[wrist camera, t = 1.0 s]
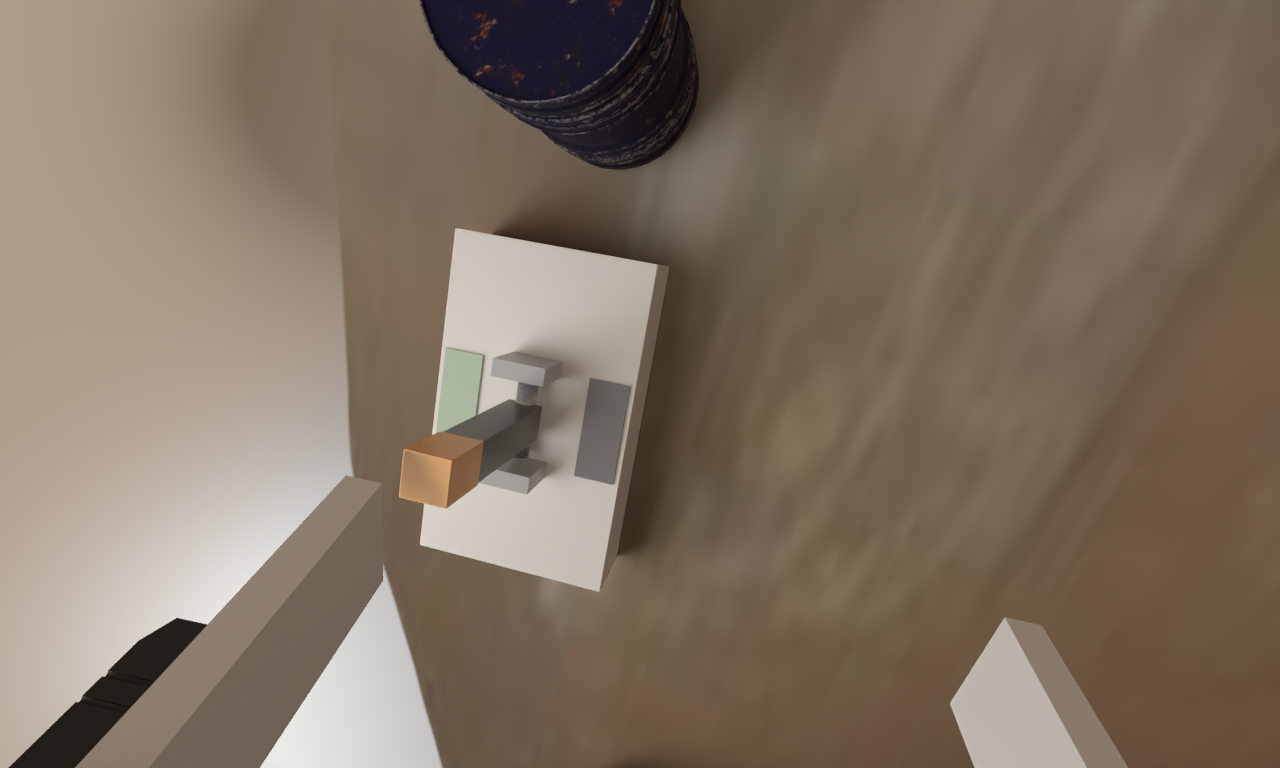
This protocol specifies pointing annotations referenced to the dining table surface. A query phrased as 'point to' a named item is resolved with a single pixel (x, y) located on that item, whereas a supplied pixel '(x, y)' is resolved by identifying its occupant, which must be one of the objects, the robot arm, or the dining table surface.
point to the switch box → (547, 399)
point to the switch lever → (470, 450)
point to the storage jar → (579, 69)
